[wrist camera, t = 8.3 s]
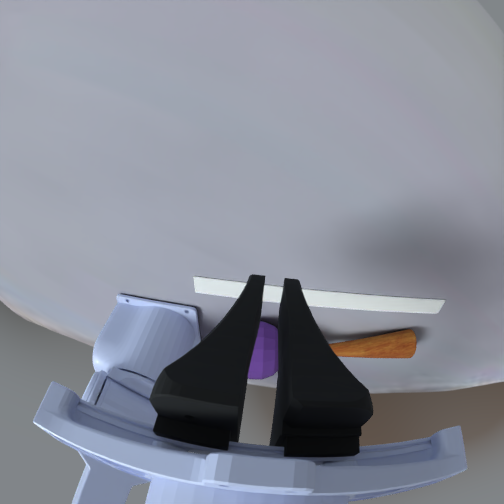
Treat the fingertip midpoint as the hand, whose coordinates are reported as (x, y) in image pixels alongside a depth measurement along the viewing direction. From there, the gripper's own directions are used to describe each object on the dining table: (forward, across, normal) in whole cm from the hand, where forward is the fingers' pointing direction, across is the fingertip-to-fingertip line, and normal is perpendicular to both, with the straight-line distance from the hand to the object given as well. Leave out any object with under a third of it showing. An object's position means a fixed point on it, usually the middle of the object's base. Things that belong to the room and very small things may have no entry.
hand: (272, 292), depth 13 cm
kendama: (+10, -7, +14) cm, 18 cm away
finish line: (+9, -6, +9) cm, 14 cm away
